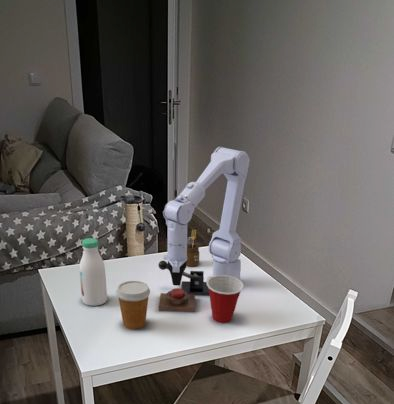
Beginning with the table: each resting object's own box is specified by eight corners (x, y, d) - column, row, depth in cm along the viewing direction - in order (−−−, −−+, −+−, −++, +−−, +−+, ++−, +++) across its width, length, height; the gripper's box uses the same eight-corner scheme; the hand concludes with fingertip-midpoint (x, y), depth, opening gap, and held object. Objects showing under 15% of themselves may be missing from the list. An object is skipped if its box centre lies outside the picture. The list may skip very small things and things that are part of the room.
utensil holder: (181, 265, 181) (182, 234, 175) (185, 259, 186) (186, 229, 180) (197, 267, 180) (198, 236, 174) (200, 261, 185) (202, 230, 179)
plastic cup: (215, 331, 142) (218, 293, 136) (198, 314, 150) (199, 278, 144) (247, 323, 146) (251, 286, 140) (229, 307, 154) (231, 272, 148)
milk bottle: (112, 298, 157) (108, 238, 146) (98, 308, 151) (93, 246, 140) (91, 293, 159) (86, 234, 149) (77, 303, 153) (71, 242, 143)
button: (183, 293, 155) (184, 288, 154) (183, 299, 151) (183, 294, 150) (171, 293, 155) (171, 288, 154) (170, 298, 151) (170, 293, 150)
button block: (194, 298, 159) (195, 289, 157) (194, 312, 151) (194, 302, 149) (160, 297, 158) (160, 288, 157) (158, 311, 151) (158, 301, 149)
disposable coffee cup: (118, 316, 147) (116, 280, 141) (150, 316, 148) (150, 280, 142) (116, 333, 139) (114, 295, 133) (150, 332, 140) (150, 295, 133)
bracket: (181, 294, 161) (181, 278, 158) (181, 284, 168) (182, 268, 164) (211, 295, 161) (212, 279, 158) (211, 285, 168) (211, 269, 165)
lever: (156, 269, 159) (160, 261, 157) (157, 265, 161) (160, 257, 160) (198, 286, 162) (202, 278, 160) (198, 282, 164) (202, 275, 163)
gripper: (165, 233, 150) (165, 274, 157) (162, 251, 138) (162, 294, 145) (188, 234, 150) (187, 275, 157) (187, 252, 138) (186, 295, 145)
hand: (176, 284), depth 151 cm, fingers closed
